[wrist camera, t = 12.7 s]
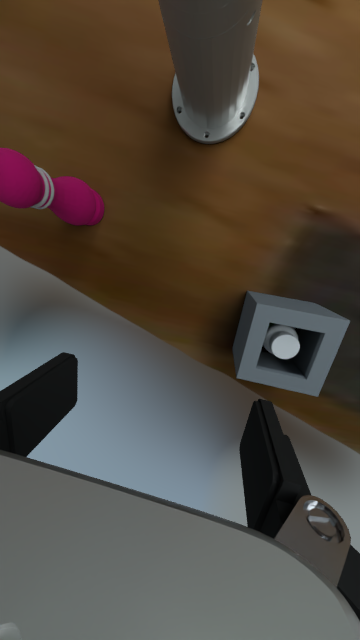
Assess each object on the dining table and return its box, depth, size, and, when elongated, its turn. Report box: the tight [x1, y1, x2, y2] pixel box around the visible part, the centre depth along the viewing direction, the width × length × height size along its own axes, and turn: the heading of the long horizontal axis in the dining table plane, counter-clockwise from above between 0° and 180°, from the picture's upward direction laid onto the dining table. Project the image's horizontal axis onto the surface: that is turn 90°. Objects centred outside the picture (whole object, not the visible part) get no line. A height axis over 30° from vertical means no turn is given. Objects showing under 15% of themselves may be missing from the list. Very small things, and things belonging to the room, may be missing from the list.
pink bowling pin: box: [0, 148, 104, 226], centre depth 31 cm, size 7×7×20 cm
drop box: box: [232, 291, 350, 397], centre depth 36 cm, size 12×12×11 cm
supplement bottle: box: [263, 323, 300, 359], centre depth 37 cm, size 5×5×10 cm
